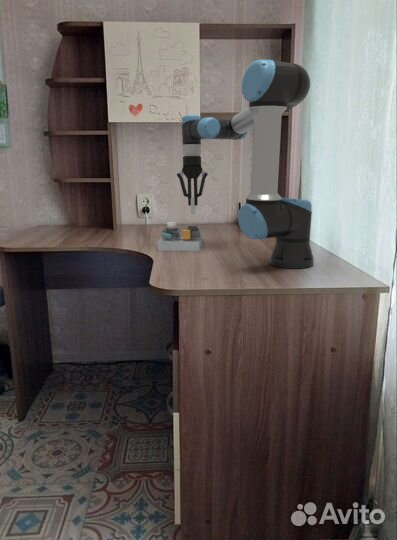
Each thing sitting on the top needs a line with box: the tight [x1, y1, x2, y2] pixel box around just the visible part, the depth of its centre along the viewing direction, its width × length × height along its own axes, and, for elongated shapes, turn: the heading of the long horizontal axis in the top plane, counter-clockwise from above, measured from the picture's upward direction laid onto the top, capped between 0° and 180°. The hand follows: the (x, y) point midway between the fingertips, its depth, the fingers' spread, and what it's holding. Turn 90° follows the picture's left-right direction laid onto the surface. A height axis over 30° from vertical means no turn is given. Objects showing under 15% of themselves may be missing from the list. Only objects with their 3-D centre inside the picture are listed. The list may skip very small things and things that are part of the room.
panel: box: [157, 227, 204, 252], centre depth 179 cm, size 15×17×7 cm
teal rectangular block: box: [160, 233, 172, 239], centre depth 176 cm, size 2×4×1 cm, turn 84°
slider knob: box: [181, 229, 191, 239], centre depth 175 cm, size 3×3×4 cm
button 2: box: [187, 225, 198, 231], centre depth 182 cm, size 4×4×3 cm
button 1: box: [166, 220, 178, 230], centre depth 182 cm, size 4×4×3 cm
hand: (193, 213), depth 179 cm, fingers closed
